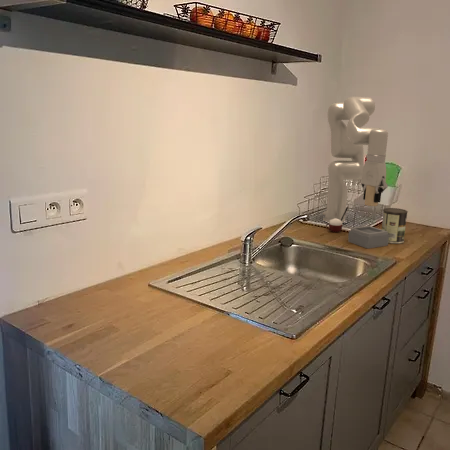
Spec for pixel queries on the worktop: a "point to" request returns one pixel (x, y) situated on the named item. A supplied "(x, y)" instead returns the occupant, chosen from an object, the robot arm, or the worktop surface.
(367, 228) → the pedestal
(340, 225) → the cocoa
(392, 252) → the worktop surface
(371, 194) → the candle
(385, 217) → the coffee can
